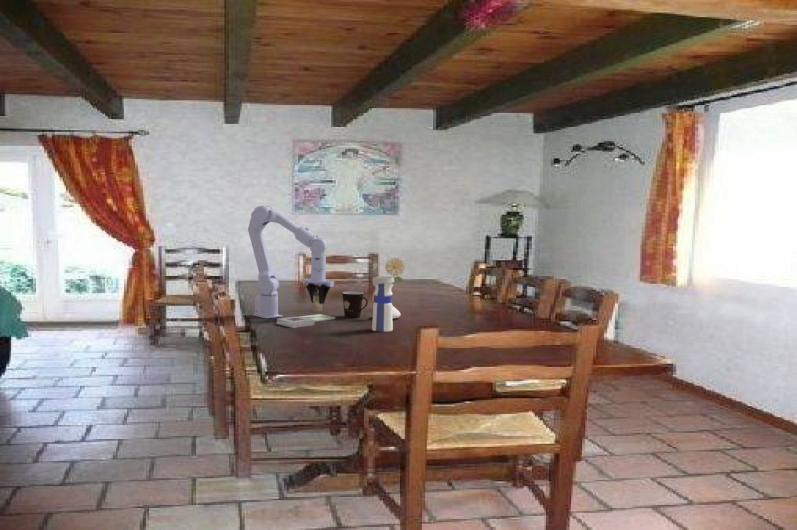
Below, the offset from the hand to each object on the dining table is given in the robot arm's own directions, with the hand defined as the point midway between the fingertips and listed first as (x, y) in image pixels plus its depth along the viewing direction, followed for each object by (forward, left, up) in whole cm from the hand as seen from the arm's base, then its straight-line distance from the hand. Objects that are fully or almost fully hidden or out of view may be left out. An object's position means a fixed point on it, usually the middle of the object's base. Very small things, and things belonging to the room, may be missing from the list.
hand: (317, 303), depth 255 cm
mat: (0, 0, -6) cm, 6 cm away
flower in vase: (+17, +23, -6) cm, 29 cm away
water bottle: (+33, +4, -6) cm, 34 cm away
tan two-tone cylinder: (0, 0, -3) cm, 3 cm away
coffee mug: (+7, +13, -6) cm, 16 cm away
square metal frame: (+6, -15, -6) cm, 17 cm away
